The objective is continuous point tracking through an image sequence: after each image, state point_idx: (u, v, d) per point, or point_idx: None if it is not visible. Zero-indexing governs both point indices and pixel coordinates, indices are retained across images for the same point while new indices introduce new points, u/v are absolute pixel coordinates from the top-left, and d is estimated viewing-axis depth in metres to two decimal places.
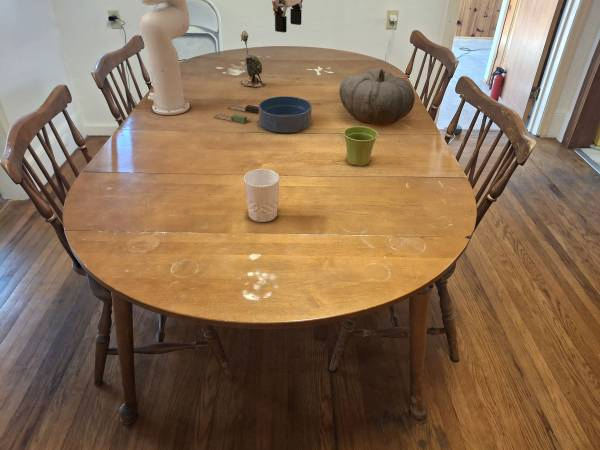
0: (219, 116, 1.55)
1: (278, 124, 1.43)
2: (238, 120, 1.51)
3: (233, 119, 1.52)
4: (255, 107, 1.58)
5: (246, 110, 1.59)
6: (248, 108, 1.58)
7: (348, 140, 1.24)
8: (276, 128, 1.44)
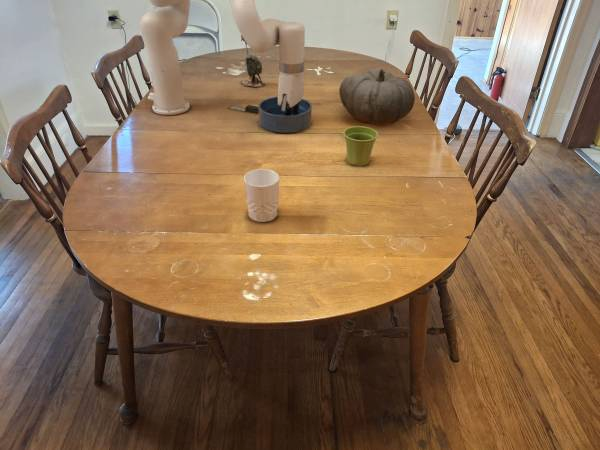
0: None
1: (278, 124, 1.43)
2: None
3: None
4: (255, 107, 1.58)
5: (246, 110, 1.59)
6: (248, 108, 1.58)
7: (348, 140, 1.24)
8: (276, 128, 1.44)
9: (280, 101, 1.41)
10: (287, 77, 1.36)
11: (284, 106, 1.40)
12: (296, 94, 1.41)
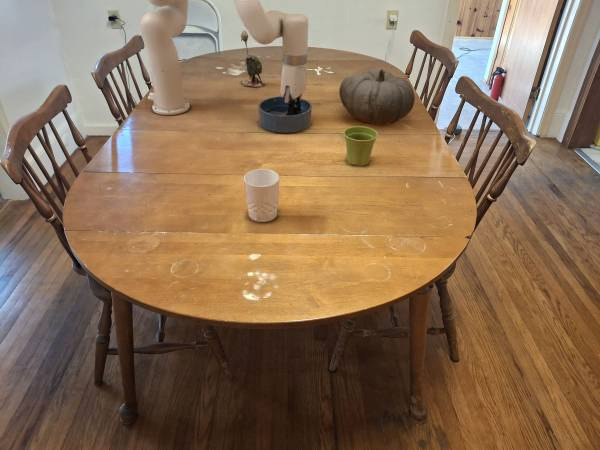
0: None
1: (278, 124, 1.43)
2: None
3: None
4: (297, 112, 1.49)
5: (287, 115, 1.50)
6: None
7: (348, 140, 1.24)
8: (276, 128, 1.44)
9: (283, 93, 1.42)
10: (290, 69, 1.37)
11: (287, 98, 1.41)
12: (299, 86, 1.42)
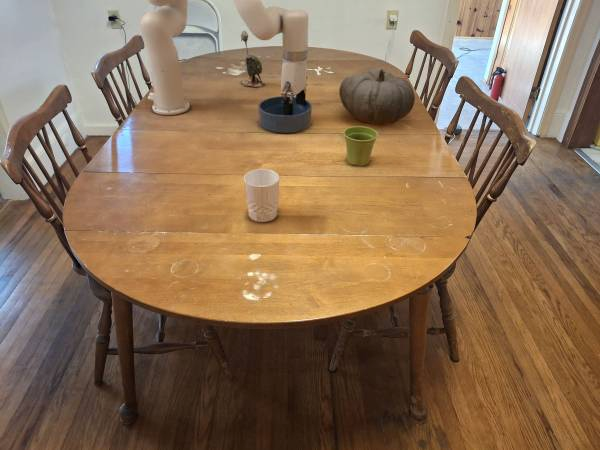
0: None
1: (278, 124, 1.43)
2: None
3: None
4: None
5: None
6: None
7: (348, 140, 1.24)
8: (276, 128, 1.44)
9: None
10: (290, 65, 1.36)
11: (286, 86, 1.39)
12: (299, 82, 1.41)
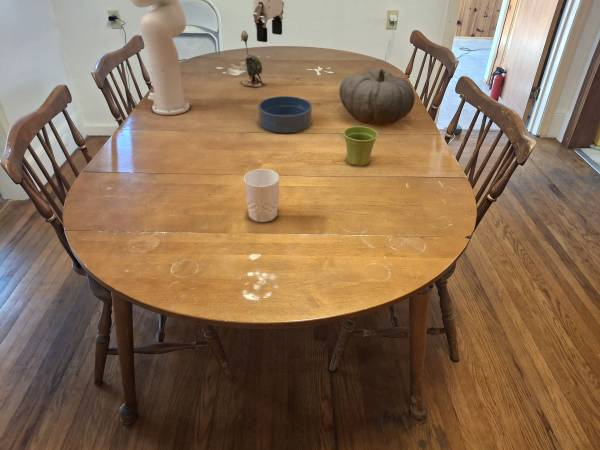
0: None
1: (278, 124, 1.43)
2: None
3: None
4: None
5: None
6: None
7: (348, 140, 1.24)
8: (276, 128, 1.44)
9: None
10: None
11: (259, 6, 1.28)
12: (273, 4, 1.30)
